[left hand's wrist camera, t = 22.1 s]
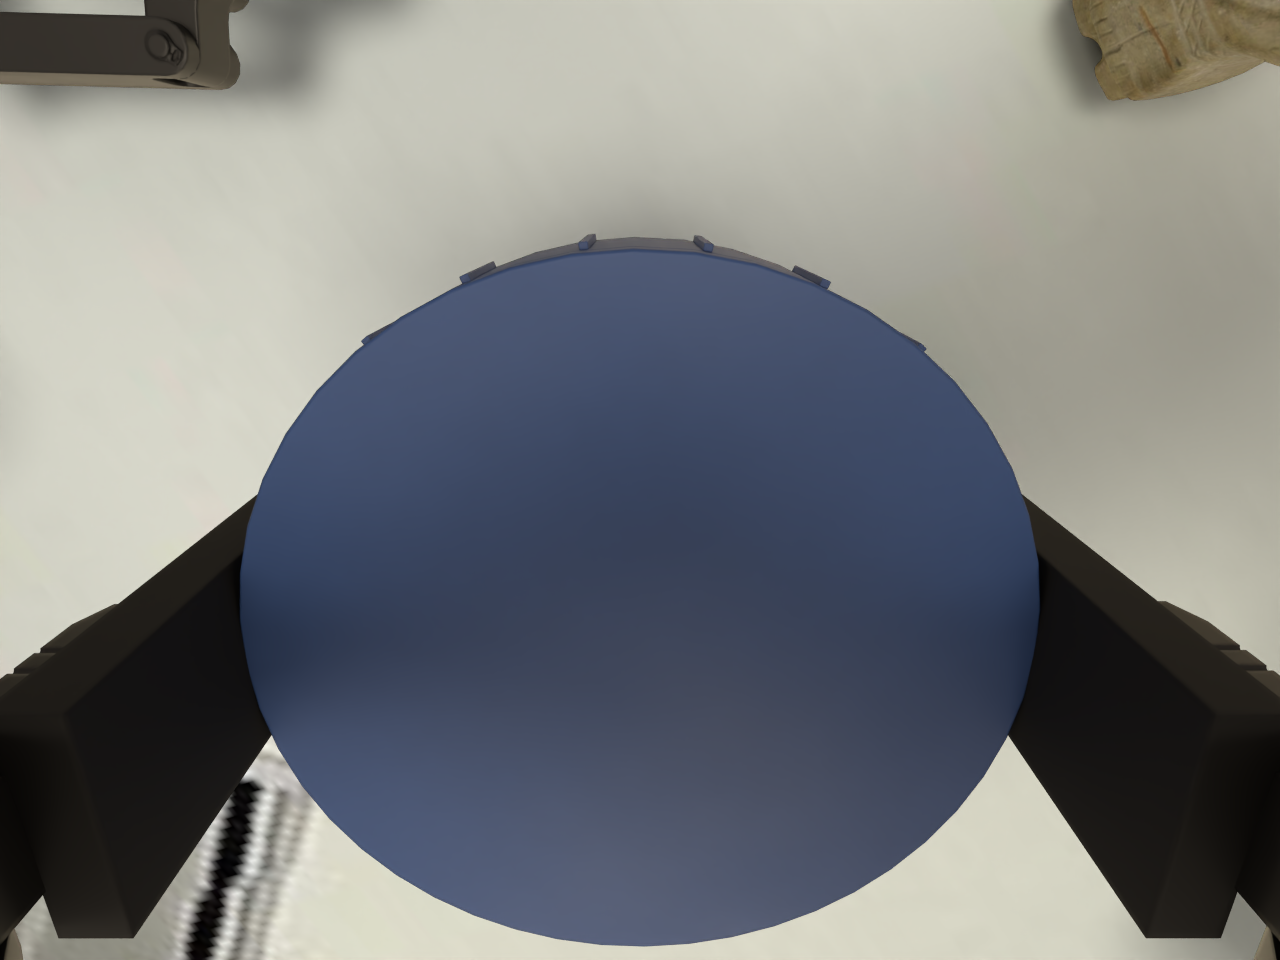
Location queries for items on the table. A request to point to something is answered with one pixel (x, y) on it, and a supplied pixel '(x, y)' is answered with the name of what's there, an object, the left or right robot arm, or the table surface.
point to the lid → (639, 594)
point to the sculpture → (1177, 42)
